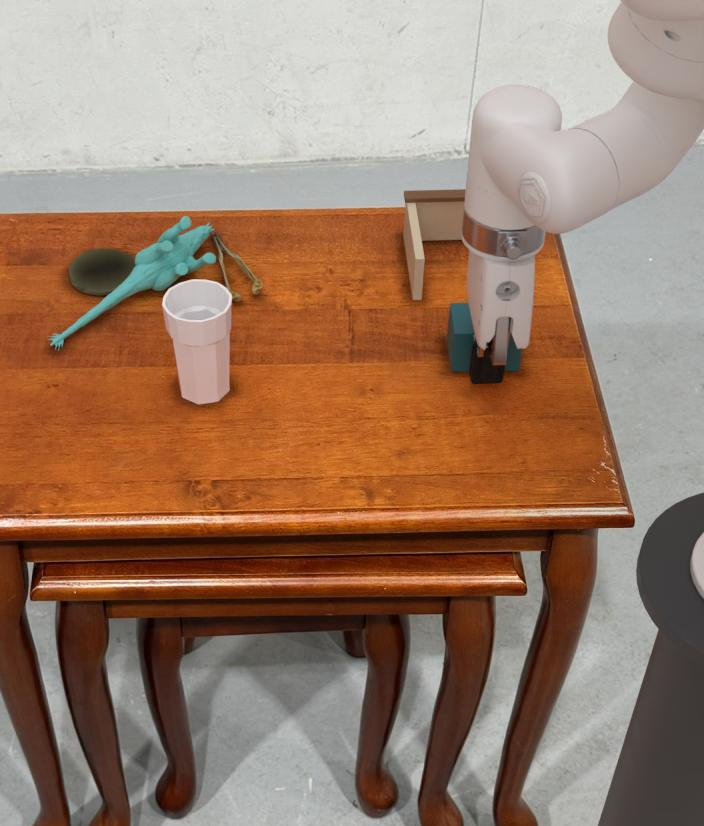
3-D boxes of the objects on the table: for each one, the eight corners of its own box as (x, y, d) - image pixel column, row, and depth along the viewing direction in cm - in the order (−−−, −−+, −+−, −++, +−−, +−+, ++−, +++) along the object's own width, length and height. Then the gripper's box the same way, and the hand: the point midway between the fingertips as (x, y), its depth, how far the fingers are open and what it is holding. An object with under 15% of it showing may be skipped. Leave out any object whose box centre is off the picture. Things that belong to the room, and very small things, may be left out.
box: (519, 371, 131) (524, 332, 128) (450, 371, 131) (454, 333, 128) (513, 340, 135) (518, 302, 131) (446, 340, 135) (450, 302, 131)
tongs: (222, 232, 148) (219, 219, 147) (267, 296, 140) (264, 282, 139) (189, 246, 148) (185, 233, 146) (233, 311, 139) (229, 297, 138)
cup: (229, 413, 127) (223, 325, 119) (164, 405, 128) (154, 317, 120) (243, 370, 132) (238, 283, 124) (180, 362, 132) (172, 275, 125)
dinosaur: (222, 188, 140) (190, 207, 147) (54, 309, 128) (26, 325, 134) (252, 233, 142) (219, 251, 148) (89, 358, 130) (60, 371, 136)
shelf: (524, 297, 140) (531, 251, 135) (410, 300, 140) (413, 254, 135) (508, 233, 148) (514, 187, 144) (401, 236, 148) (403, 190, 144)
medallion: (97, 239, 146) (98, 244, 147) (53, 277, 142) (54, 282, 142) (154, 261, 143) (154, 267, 144) (110, 301, 139) (111, 306, 140)
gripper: (560, 272, 110) (535, 428, 124) (531, 178, 121) (511, 330, 134) (474, 275, 110) (457, 431, 123) (452, 180, 121) (439, 333, 134)
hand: (485, 378), depth 129 cm, fingers closed
